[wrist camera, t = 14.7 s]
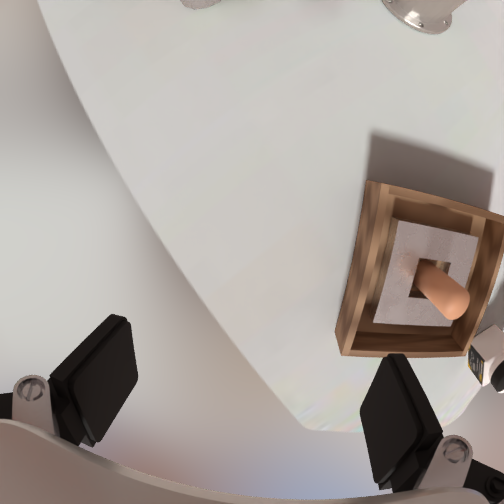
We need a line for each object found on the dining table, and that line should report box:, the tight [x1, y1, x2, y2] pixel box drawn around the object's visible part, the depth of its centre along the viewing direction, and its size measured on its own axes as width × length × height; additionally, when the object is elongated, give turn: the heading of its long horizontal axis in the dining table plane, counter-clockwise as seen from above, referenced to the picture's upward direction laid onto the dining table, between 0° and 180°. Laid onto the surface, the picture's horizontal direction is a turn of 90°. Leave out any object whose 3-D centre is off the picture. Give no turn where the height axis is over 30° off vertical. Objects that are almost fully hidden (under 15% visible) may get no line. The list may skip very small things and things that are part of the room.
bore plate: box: [368, 217, 479, 326], centre depth 34 cm, size 14×14×2 cm
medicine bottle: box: [468, 324, 504, 393], centre depth 33 cm, size 7×7×12 cm
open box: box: [335, 180, 504, 358], centre depth 33 cm, size 22×22×6 cm
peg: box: [413, 260, 470, 320], centre depth 30 cm, size 4×4×10 cm
